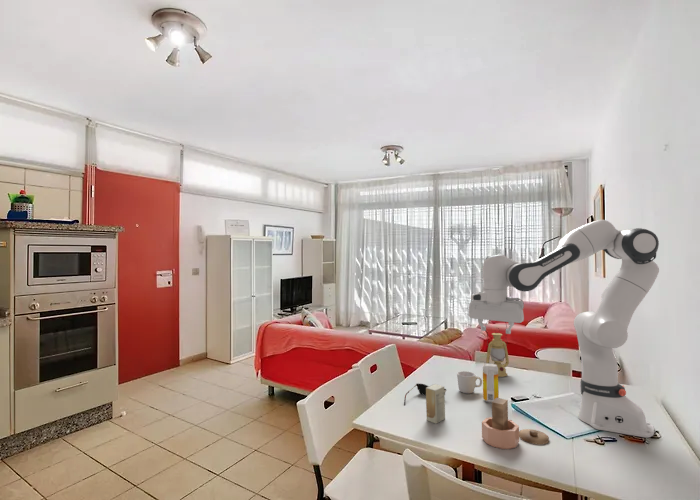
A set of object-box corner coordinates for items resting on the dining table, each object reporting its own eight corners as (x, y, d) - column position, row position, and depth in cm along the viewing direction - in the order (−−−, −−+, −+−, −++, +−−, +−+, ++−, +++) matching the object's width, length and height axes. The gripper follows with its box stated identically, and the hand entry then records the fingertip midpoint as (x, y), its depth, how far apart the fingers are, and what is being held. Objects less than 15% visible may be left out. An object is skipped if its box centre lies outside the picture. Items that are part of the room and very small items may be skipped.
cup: (480, 389, 172) (479, 371, 173) (484, 395, 164) (484, 376, 165) (455, 388, 173) (455, 370, 174) (459, 394, 166) (458, 376, 166)
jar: (522, 439, 125) (521, 422, 125) (512, 452, 116) (512, 434, 116) (489, 430, 131) (489, 414, 131) (478, 442, 123) (478, 425, 123)
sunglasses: (446, 399, 161) (446, 388, 161) (432, 415, 147) (432, 402, 147) (416, 393, 168) (416, 382, 168) (400, 407, 155) (400, 396, 155)
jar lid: (551, 437, 127) (550, 430, 127) (546, 448, 119) (546, 440, 119) (522, 430, 132) (522, 423, 132) (515, 440, 125) (515, 433, 125)
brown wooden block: (508, 436, 125) (507, 399, 125) (503, 442, 121) (502, 404, 121) (497, 433, 127) (496, 397, 127) (492, 439, 123) (491, 402, 123)
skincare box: (435, 415, 144) (435, 383, 144) (445, 419, 141) (445, 386, 141) (425, 420, 140) (425, 387, 140) (435, 424, 137) (435, 390, 137)
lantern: (490, 377, 188) (489, 317, 189) (482, 371, 198) (481, 314, 199) (514, 377, 189) (512, 317, 189) (505, 371, 199) (504, 314, 199)
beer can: (497, 398, 160) (497, 363, 161) (499, 404, 154) (498, 367, 155) (482, 397, 162) (482, 362, 162) (483, 402, 156) (483, 366, 156)
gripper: (525, 297, 143) (526, 334, 142) (472, 294, 156) (473, 328, 155) (521, 298, 138) (521, 336, 137) (466, 295, 151) (467, 330, 150)
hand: (495, 332), depth 146 cm, fingers open, 8 cm apart
